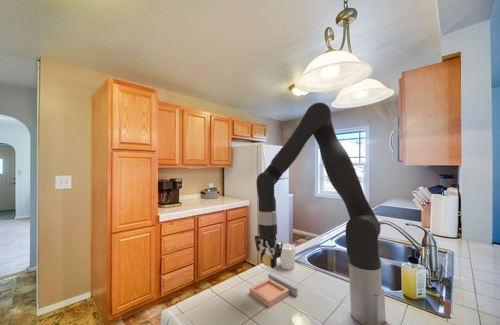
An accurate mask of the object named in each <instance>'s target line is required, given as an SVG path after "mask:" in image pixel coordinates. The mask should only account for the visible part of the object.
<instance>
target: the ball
mask: <svg viewBox="0 0 500 325" xmlns="http://www.w3.org/2000/svg"><path fill="white" fill-rule="evenodd" d="M262 262H263V263H262V264H263V265H264V266H265V267H270V268H271V256H270V253H269V252H265V254H264V255H263V257H262Z"/></svg>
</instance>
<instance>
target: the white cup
mask: <svg viewBox="0 0 500 325" xmlns="http://www.w3.org/2000/svg"><path fill="white" fill-rule="evenodd" d="M279 259H280V260H279V261H280V267H281V268H282V269H283V270H289V271H290V270H293V269H295V266H296V265H295V264H296V263H295V262H296V246H295V245H294V244H291V243H283V246H282V252H281V257H279Z"/></svg>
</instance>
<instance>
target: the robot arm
mask: <svg viewBox="0 0 500 325" xmlns="http://www.w3.org/2000/svg"><path fill="white" fill-rule="evenodd" d="M312 136H313V137H314V139H315V142H316V143H317V145H318V148H319V153H320V157H321V161H322V164H323V167H324V169H325V172H326V175H327V177H328V179H329V182H330V184H331V185H332V188H334V190H335V191H336V193H337V194H338V195H339V196H340V198H341V199H342V201H343V203H344V205H345V207H346V210H347V213H348V216H349V219H348V220H347V222H346V225H345V246H346V253H347V256H348V268H349V270H348V274H349V298H350V299H349V300H350V315H351V317H352V318H353V320H355V321H356V322H358V323H359V324H361V325H383V324H384V323H385V322H386V303H385V301H386V298H385V290H384V288H383V287H382V286H383V285H382V284H383V283H382V268H381V267H382V266H381V265H382V262H381V257H380V254H379V236H380V234H381V224H380V221H379V220H378V218H377V216H376V214H375V212H374V211H373V210H372V207H371V205H370V204H369V202H368V200H367V198H366V196H365V193H364V191H363V188H362V185H361V184H362V183H361V182H360V179H359V176H358V173H357V172H356V169H355V166H354V164H353V162H352V159H351V158H350V156H349V154H348V153H347V151H346V149H345V148H344V146H343V145H342V144H341V141H339V139H338V137H337V135H336V132H335V128H334V125H333V121H332V111H331V108H330V106H329V105H328V104H327V103H325V102H315V103H313V104H311V105H310V106H309V107H308V108H307V110H306V112H305V113H304V115H303V116H302V118H301V119H300V122H299V123H298V125H297V127H296V128H295V129H294V131H293V132H292V134H291V135H290V137H289V138H288V139H287V141H286V142H285V143H284V145H282V147H281V148H280V150H279V151H278V152H277V153H276V154H275V156H274V157H273V158H272V160H271V161H270V164H269V165H268V166H267V168H266V169H265V170H264V171H263V172H261V173H259V174H258V175H257V177H256V182H255V183H256V192H257V200H258V202H257V203H258V204H257V205H258V208H257V209H258V214H257V230H258V231H257V232H258V234H257V235H254V241H255V242H254V243H255V247H256V251H257V252H259V254H260V262H261V264H263V262H262V257H263V255H264V254H265V253H270V256H271V266H270V268H271V269H275V268H276V267H277V264H278V263H277V259H280V257H281V252H282V246H283V244H284V243H283V242H282V241H281V242H279V241H278V239H277V234H278V215H277V201H276V200H277V199H276V197H275V185H276V184H277V183H278V182H279V180H280V179H281V177H282V176H283V174H284V173H285V172H286V171H287V170H289V168H290V167H291V166H292V165H293V163H294V162H295V160H297V158H298V157H299V155H300V153H301V151H302V150H303V148H304V147H305V146H306V143H307V142H308V141H309V139H311V137H312Z"/></svg>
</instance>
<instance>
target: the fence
mask: <svg viewBox="0 0 500 325" xmlns="http://www.w3.org/2000/svg"><path fill="white" fill-rule="evenodd" d="M267 277H268V278H267V279H271V280H273V281H275V282H276V283H278V284H280V285H282V286H284V287H285V288H287V289H289V295H292V296H293V297H298V295H299V294H298V292H299V290H298V287H297V286H295V285H293V284H291V283H290V282H288V281H285V280H284V279H282V278H280V277H277V276H276V275H274V274H272V273H271V272H270V273H268V275H267Z"/></svg>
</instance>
